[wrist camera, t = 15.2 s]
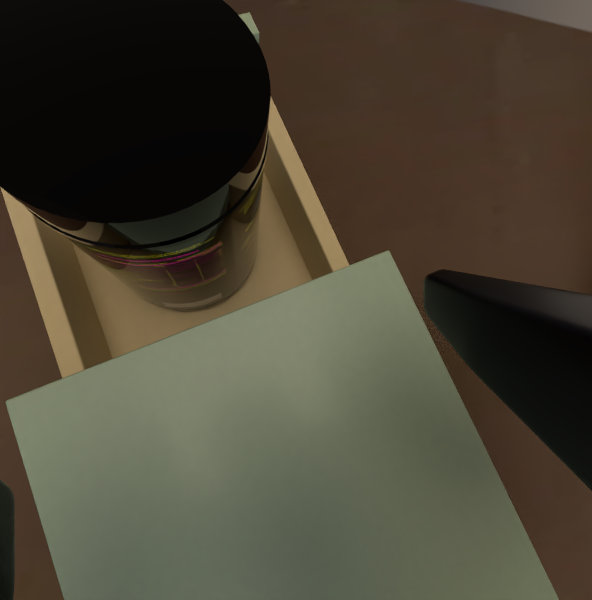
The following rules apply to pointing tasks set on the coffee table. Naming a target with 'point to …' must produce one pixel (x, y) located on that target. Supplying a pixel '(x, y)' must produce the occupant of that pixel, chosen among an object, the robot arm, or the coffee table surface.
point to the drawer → (160, 321)
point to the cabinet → (276, 461)
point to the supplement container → (139, 137)
